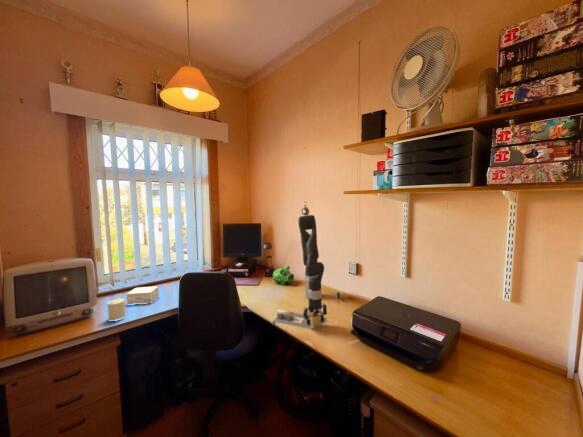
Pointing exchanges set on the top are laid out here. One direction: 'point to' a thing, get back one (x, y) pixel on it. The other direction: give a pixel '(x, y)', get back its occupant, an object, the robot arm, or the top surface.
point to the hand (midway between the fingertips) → (315, 323)
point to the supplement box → (142, 295)
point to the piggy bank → (283, 276)
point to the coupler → (315, 321)
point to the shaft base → (294, 319)
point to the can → (116, 309)
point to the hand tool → (353, 332)
